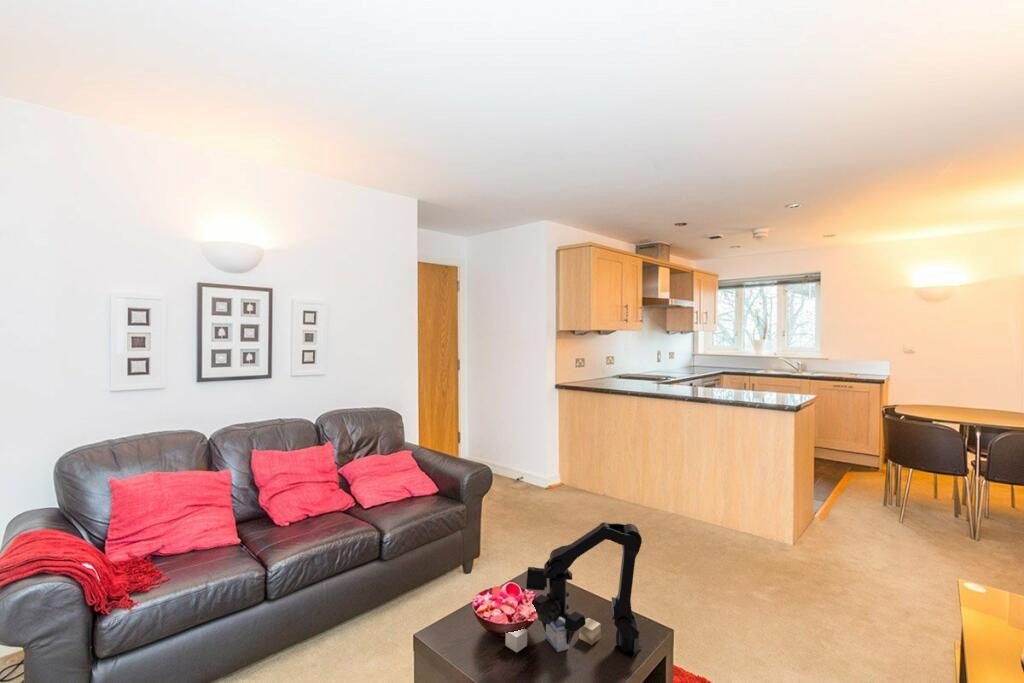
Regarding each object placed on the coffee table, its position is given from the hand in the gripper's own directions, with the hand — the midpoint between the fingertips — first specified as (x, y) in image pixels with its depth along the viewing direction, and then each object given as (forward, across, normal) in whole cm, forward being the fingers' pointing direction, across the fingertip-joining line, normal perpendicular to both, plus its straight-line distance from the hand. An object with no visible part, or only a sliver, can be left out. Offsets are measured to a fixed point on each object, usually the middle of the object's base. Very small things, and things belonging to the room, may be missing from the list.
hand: (557, 637), depth 156 cm
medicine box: (+2, 0, 0) cm, 2 cm away
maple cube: (+2, +6, +10) cm, 12 cm away
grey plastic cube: (+2, -9, -10) cm, 14 cm away
